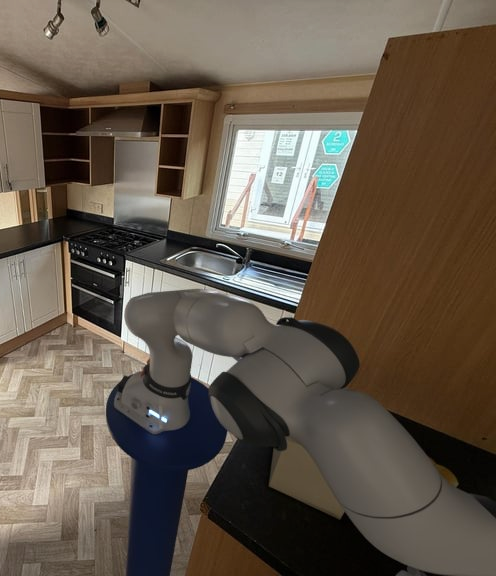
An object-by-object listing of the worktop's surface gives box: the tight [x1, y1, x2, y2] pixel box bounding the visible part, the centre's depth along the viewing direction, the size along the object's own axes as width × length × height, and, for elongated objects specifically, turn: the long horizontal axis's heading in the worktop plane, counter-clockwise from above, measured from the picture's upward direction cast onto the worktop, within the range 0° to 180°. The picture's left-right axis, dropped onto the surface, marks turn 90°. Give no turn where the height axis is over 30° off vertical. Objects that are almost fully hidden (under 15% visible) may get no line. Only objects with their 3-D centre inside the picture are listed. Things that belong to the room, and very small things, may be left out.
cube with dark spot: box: [268, 437, 345, 520], centre depth 71 cm, size 14×14×17 cm
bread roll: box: [428, 456, 459, 488], centre depth 74 cm, size 8×9×4 cm
